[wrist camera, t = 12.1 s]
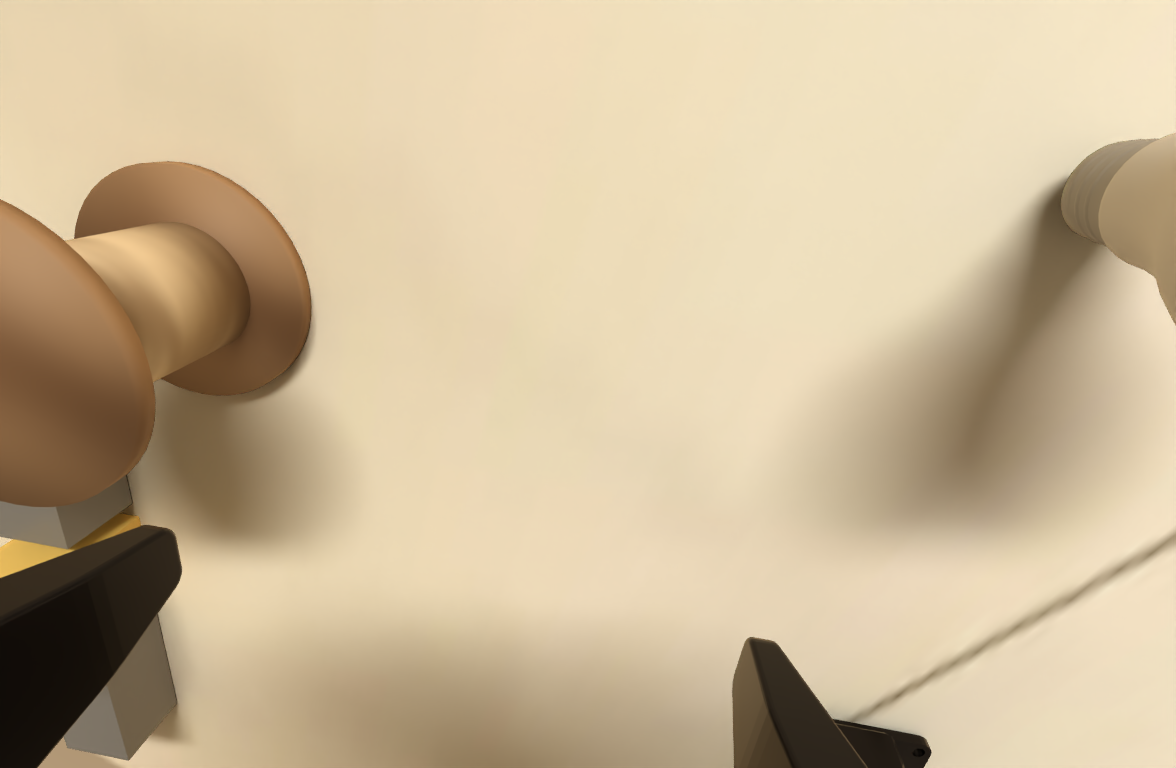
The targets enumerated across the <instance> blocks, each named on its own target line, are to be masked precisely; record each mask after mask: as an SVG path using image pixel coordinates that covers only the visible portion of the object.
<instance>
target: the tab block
mask: <svg viewBox="0 0 1176 768" xmlns="http://www.w3.org/2000/svg"><path fill="white" fill-rule="evenodd" d="M139 526H141V524H140V520H139V517H138V516H132V515H127V514H121V513H118V514H117V515H115V516H114V517H113V518H111V519H110V520H108V521H107V522H106V523H104V524H103V525H101V526H100V527H99V528H97V529H96V530H94V531H93V532H92V533H90V534H89V535H87V536H86V537H85V538H83V539H82V540H80V541H79V542H78V543H76V544H75V545H73V546H72V547H71V548H69V549H63V548H58V547H53V546H47V545H42V544H37V543H31V542H26V541H21V540H16V539H13V540H11V541H10V542H8V543H7V544H5V545H3V546H2V547H0V578H2V577H4V576H7V575H10V574H12V573H15V572H18V571H21V570H23V569H26V568H29V567H31V566H34V565H37V564H39V563H42V562H45V561H48V560H50V559H53V558H56V557H58V556H61V555H64V554H66V553H69V552H72V551H75V550H77V549H80V548H83V547H85V546H88V545H91V544H93V543H96V542H99V541H102V540H104V539H107V538H110V537H112V536H115V535H118V534H120V533H123V532H126V531H129V530H131V529H134V528H137V527H139Z"/></svg>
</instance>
